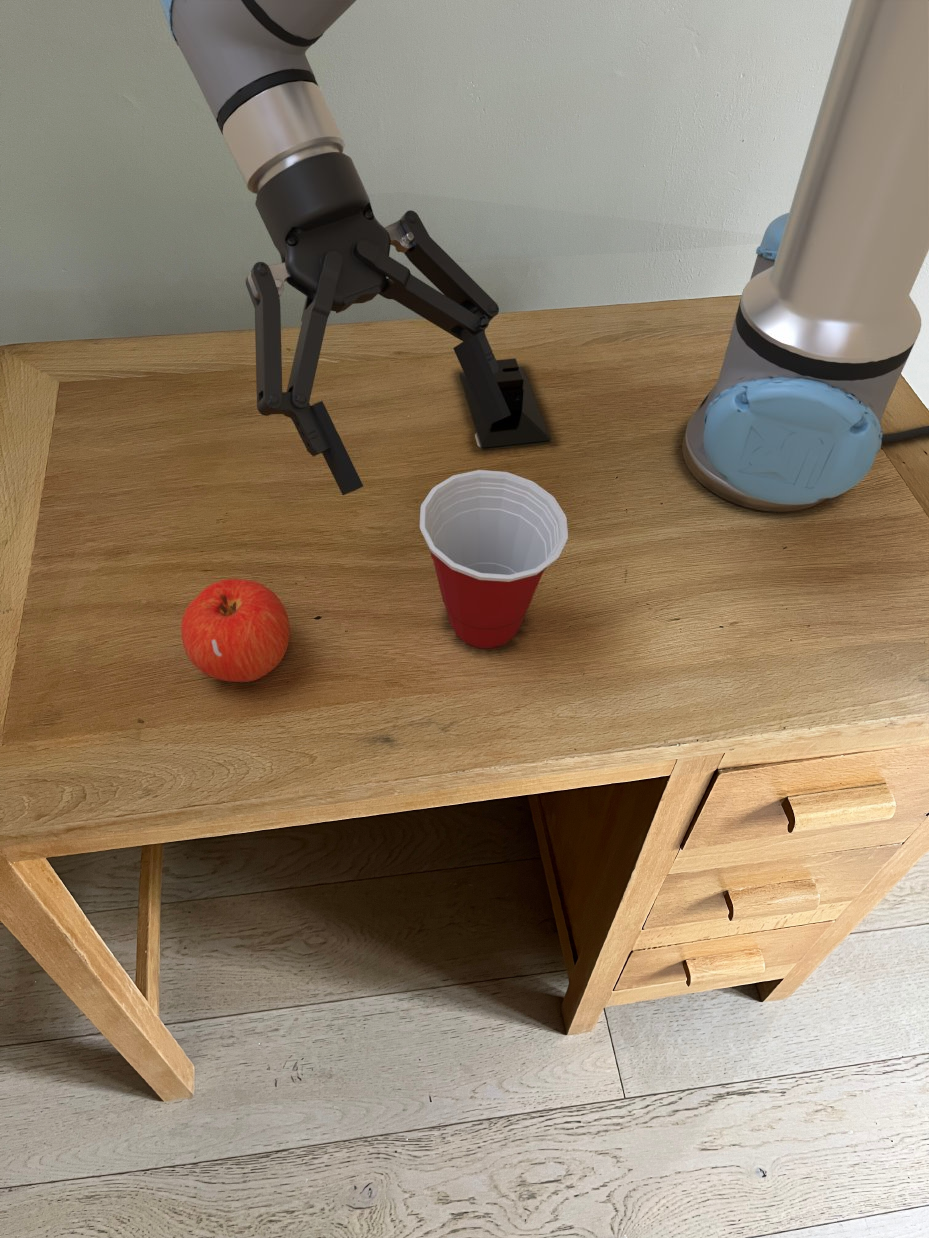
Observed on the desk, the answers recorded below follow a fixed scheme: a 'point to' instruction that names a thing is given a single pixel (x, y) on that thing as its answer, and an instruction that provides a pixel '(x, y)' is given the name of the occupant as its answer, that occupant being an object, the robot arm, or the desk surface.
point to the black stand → (521, 403)
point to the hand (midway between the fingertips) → (429, 454)
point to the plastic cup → (490, 549)
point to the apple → (235, 630)
